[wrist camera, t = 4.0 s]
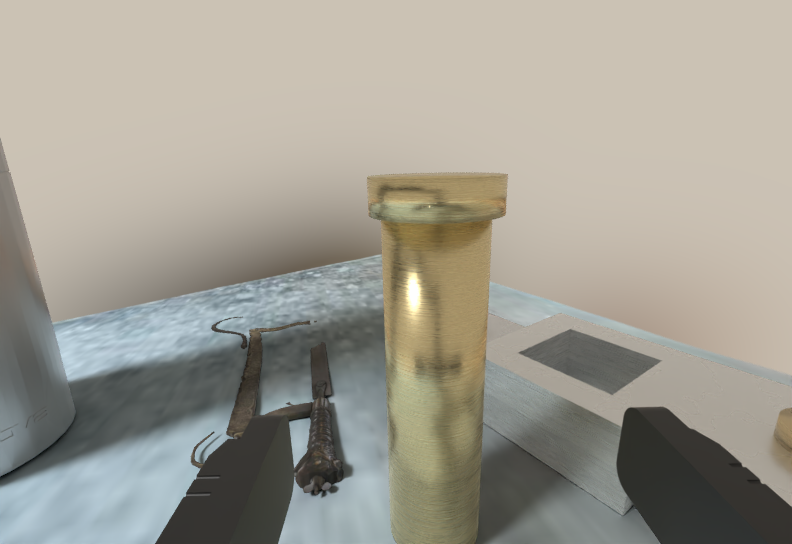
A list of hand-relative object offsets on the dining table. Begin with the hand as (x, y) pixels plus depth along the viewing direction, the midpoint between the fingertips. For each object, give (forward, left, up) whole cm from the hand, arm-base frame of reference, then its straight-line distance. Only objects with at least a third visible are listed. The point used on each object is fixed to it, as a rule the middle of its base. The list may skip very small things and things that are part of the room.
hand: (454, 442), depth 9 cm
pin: (-2, +5, -8) cm, 9 cm away
